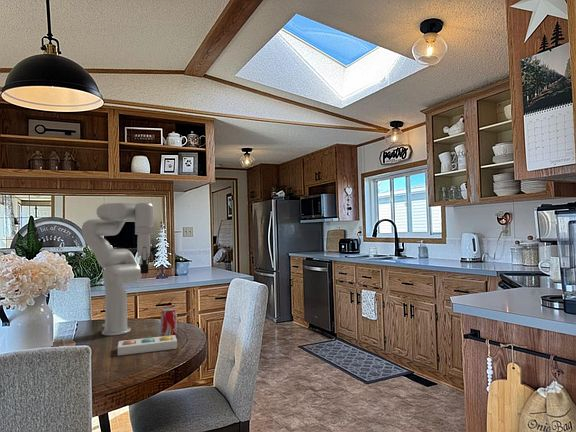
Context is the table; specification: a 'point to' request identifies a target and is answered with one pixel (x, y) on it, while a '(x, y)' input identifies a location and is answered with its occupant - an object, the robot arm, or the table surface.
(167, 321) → the soda can
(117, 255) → the robot arm
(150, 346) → the button box
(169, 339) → the amber button
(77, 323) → the table surface
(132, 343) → the terracotta button
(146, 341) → the teal button
